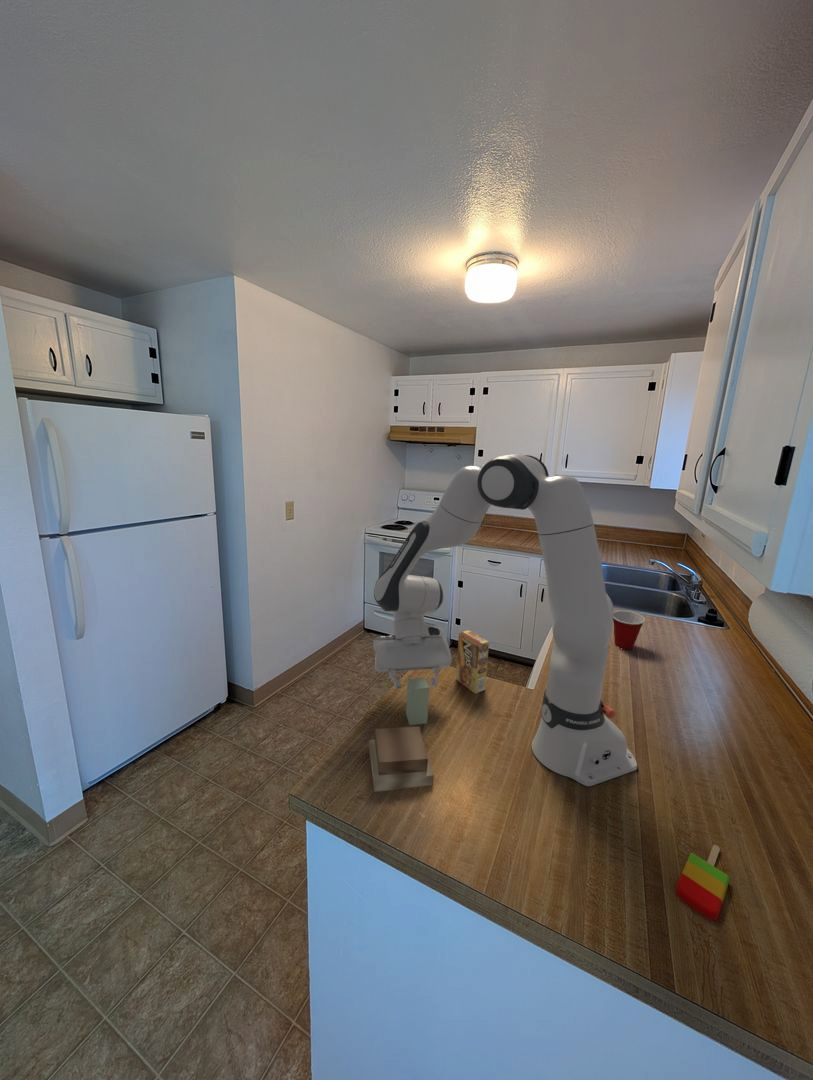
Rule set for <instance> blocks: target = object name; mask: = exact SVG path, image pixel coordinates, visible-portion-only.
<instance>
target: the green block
mask: <svg viewBox="0 0 813 1080" xmlns="http://www.w3.org/2000/svg"><path fill="white" fill-rule="evenodd" d="M429 696H430V686H429V684H428V682H427V679H426V678H425V677H419V678H418V677H417V678H407V685H406V705H405V706H406V707H405V709H406V710H405V715H406V718H407V722H408V725H409V726H414V725H415V726H416V725H417V726H418V725H427V724H428V715H429V699H430V697H429Z"/></svg>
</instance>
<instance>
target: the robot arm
mask: <svg viewBox="0 0 813 1080" xmlns="http://www.w3.org/2000/svg"><path fill="white" fill-rule="evenodd" d="M491 506H495V507H498V508H502V509H503V508H504V509H514V510H521V511H522V510H526V509H528V510H529V511H530V513H532V516H533V519H534V521H535V522H534V523H535V525H536V526H535V527H536V531H537V536H538V540H539V546H540V550H541V555H542V559H543V564H544V569H545V576H546V577H545V578H546V586H547V587H546V588H547V590H546V591H547V598H548V605H549V607H548V608H549V613H550V620H551V627H552V628H551V630H552V637H553V646H552V650H551V655H550V660H549V667H548V675H547V682H546V688H545V689H544V692H543V697H542V698H543V699H542V704H541V705H542V706H541V719H540V722H539V725H538V729H537V731H536V733H535V736H534V738H533V739H532V742H531V749H532V752H533V755H534V756H535V758H537V760H538V761H539V762H540V763H541V764H542V765H543V766H544V767H546V768H547V769H549V770H551V771H552V772H554V773H556V774H558V775H561V776H565V777H567V778H570V779H573V780H575V781H576V782H578V783H579V784H581V785H583V786H586V787H592V786H595V785H597V784H601V783H604V782H606V781H609V780H612V779H614V778H618V777H620V776H623V775H626V774H629V773H631V772H635V771H636V770H637V769H638V764H637V763H638V762H637V760H636V757H635V756H634V755H633V753H632V752H631V751H630V749H629V748H628V745H627V744H628V743H627V740H626V737H625V735H624V733H623V732H622V730H620V728H619V727H618V726H617V725H616V724H615V723H614V722H613V721H611V719H614V718H615V717H616V715H617V712H616V710H615V709H613V708H612V707H611V706H610V705H605V704H604V702H603V701H602V700H601V699H602V698H601V697H602V691H603V687H604V678H605V673H606V665H607V660H608V659H607V657H608V651H609V646H610V642H611V639H612V635H613V627H614V622H613V612H615V611H614V605H613V604H614V603H613V601H612V599H611V597H610V596H609V595H608V593H607V591H606V590H607V589H606V585H605V584H606V583H605V578H604V571H603V563H602V557H601V552H600V548H599V543H598V538H597V533H596V529H595V523H594V519H593V515H592V512H591V507H590V504H589V501H588V499H587V496H586V494H585V490H584V489H583V487H582V485H581V483H580V481H579V480H578V479H576V478H575V477H574V476H573V477H572V476H570V475H564V474H563V475H561V474H559V475H554V476H549V471H548V468H547V467H546V464H545V463H544V462H543V461H542V460H541V459H540V458H537V456H533V455H528V454H527V455H525V454H521V453H520V454H519V453H511V454H507V455H499V456H496V457H494V458H492V459H489V461H487V462H486V463H485V464H484V466H483V467H481V466H476V465H467V466H463V467H462V468H460V469H459V470H458V471H457V472H456V473H455V475H454V477H452V479H451V481H450V482H449V484H448V486H447V487H446V490H445V491H444V493H443V495H442V497H441V499H440V502H439V503H438V505H437V507H436V508H435V509H434V511H433V512H432V513H431V514H430V515H429V516H428V517H427V518H426V519H424V520H422V521H420V522H418V523H417V524H415V525H414V527H413V528H412V529H411V531H410V532H409V534H408V535H407V537H406V538H405V540H404V541H403V544H401V546H400V547H399V549H398V551H397V552H396V554H395V556H394V558H392V560H391V561H390V564H389V565H388V566H387V568H386V569H385V570H384V572H383V573H382V574H381V575H380V576H379V577H378V579H377V580H376V582H375V585H374V589H373V598H374V600H375V602H376V603H377V605H378V606H379V607H380V608H381V610H383V611H385V612H391V613H392V615H393V626H392V627H393V635H386V636H385V635H384V636H383V635H378V637H376V638H374V639H373V641H372V649H373V651H374V653H375V659H374V669H375V671H376V672H378V673H387V672H388V675H389V678H390V679H391V681H392V683H394V684H393V685H394V689H395V690H401V689H402V681H401V679H400V680H398V679H397V677H396V676H395V675H396V672H406V671H407V672H409V671H420V670H421V671H424V670H432V674H434V675H433V677H431V678H430V679H429V683H430V687H437V686H438V679H437V678H438V677H439V674H440V671H441V670H442V669H448V668H449V667H450V665H451V664H452V662H453V661H452V654H451V650H450V647H449V644H448V641H447V640H446V639H445V638H444V633H445V632H444V630H443V628H441V627H436V626H432V625H429V624H426V622H425V616H426V615H431V614H432V613H434V612H436V611H437V610H438V609H439V608H440V607H441V605H442V604H443V602H444V590H443V587H442V584H441V583H440V582H439V580H438V579H436V578H433V577H429V576H424V575H422V576H420V575H414V574H413V575H412V574H410V573H411V572H412V570H413V569H414V567H415V565H416V564H417V562H418V561H419V560H420V559H421V557H422V556H424V555H425V554H428V553H431V552H433V551H437V550H441V549H446V548H447V549H448V548H454V547H458V546H462V545H464V544H466V543H468V542H469V541H471V539H472V538H473V537H475V535H476V533H477V532H478V530H479V528H480V526H481V524H482V522H483V520H484V518H485V515H486V514H487V512H488V510H489V508H491Z"/></svg>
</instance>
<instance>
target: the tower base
mask: <svg viewBox="0 0 813 1080" xmlns="http://www.w3.org/2000/svg"><path fill="white" fill-rule="evenodd" d="M368 753H369V761H370V767H371V774H372V782H373V783H372V784H373V791H374V793H375V792H384V791H385V792H386V791H393V790H402V789H410V788H418V787H427V786H434V777H435V776H434V771H433V769H432V766H431V763H430V760H429V756H428V755H427V757H428V767H427V771H425V772H413V773H400V774H388V775H379V774H378V765H377V755H376V746H375V738H374V739H368Z"/></svg>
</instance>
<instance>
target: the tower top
mask: <svg viewBox="0 0 813 1080" xmlns="http://www.w3.org/2000/svg"><path fill="white" fill-rule="evenodd" d="M374 739H375V746H376V755H377V765H378V774H379V775H388V774H400V773H413V772H425V771H427V767H428V759H429V756H428V753H427V750H426V747H425V742H424V739H423V735H422V731H421V728H420V726H418V725H417V726H405V727H403V726H402V727H390V728H389V727H387V728H375V730H374ZM427 756H428V757H427Z"/></svg>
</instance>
